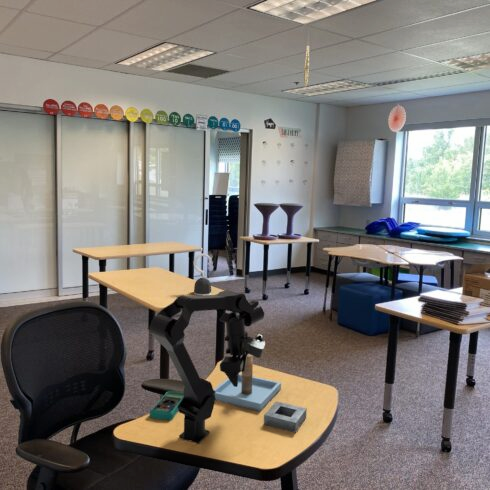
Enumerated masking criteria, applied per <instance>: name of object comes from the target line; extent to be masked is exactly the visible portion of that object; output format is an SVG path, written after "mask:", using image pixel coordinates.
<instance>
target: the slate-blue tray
mask: <svg viewBox="0 0 490 490" xmlns="http://www.w3.org/2000/svg"><path fill="white" fill-rule="evenodd" d="M241 388H242V373H239V378H238V386H237V387H234V386H233V384H232V383H231V381H230V380H229V378H228V377H226V379H225V380H223V382H220V384H218V385H217V386H216V387H215V388H213V390H214V391H215V392H216V393H214V394H215V402H216V401H218V402H222V403H225V404H229V405H234V406H237V407H241V408H246V409H249V410H254V411H258V412H262V410H264V409H265V407H267V405H268V404H269V403H270V402H271V401H272V399H274V398H275V397H276V396H277V395H278V393H279V392H280V391H281V390H282V382H280V381H276V380H275V381H274V380H271V379H267V378H261V377H257V376H253V375H252V394H250V395H244V394H242V393H241Z"/></svg>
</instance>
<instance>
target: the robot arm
mask: <svg viewBox="0 0 490 490" xmlns="http://www.w3.org/2000/svg"><path fill="white" fill-rule="evenodd" d="M216 310H217V311H218V310H219V311H220V310H224V311H228V312H229V313H228V312H224V313H223V314H222V316H221V317H220V318H219V321H220V322H223V323H225V333H226V334H225V337H224V342H226V345H227V347H226V350H225V354H226V355H227V354H229V355H231V356H224V357H223V358H222V360H221V361H220V363H219V371H220V372H222V373H224V374H225V375H226V376H227V377H226V378H229V380H230V381H231V383H232V384H233V386H234V387H237V386H238V378H239V374H241V373H242V372H244V371H245V365H246V359H247V355H248V354H251V355H253V357H255V358H257V359H261V357H262V355H263V352H264V350H265V346H266V341H265V340H264V337H263V335H262V334H260V333H257V335H256V336H255V337H254V336H249V333H248V331H246V327H252V325H255V324H256V323H259V322H261V321H262V320H264V318H265V311H264V309H263V308H262V306H261V305H260V303H259V300H255V299H253V300H251V301H248V300H247V296H246V294H245V293H242V292H238V291H233V290H229V289H226V290H222V291H219V292H218V293H216V294H209V295H184V294H183V295H179V296H177V297H176V298H175V300H173V302H172V303H170V304H168V305H167V306H165V307H163V308H162V309H161V310H160V311H159V312H158V313H157V315H155V316H154V317H153V318H152V320H151V322H150V325H149V326H148V327H149V332H150V334H151V335H152V336H153V338H154V339H155V340H156V342H158V343H159V344H161V346H162V347H164V348H165V350H166V352H167V354H168V355H169V357H170V359H171V361H172V363H173V366H174V368H175V369H176V372H177V373H178V376H179V378H180V380H181V381H182V384H183V391H182V393H183V394H184V397H183V399H182V400H181V402H180V403H179V402H178V403H179V405H178V407H177V408H178V413H180V414H182V415H184V418H183V431H182V432H181V433H180V434H179V436H178V437H179V439H182V440H186V441H190V442H193V443H195V444H196V443H197V444H199V443H201V442H202V441H203V440H204V439H205V438H206V437H207V436H208V435H209V434H210V433H211V432H210V430H207V429H206V421H207V420H208V419H210V418H212V414H213V409H214V406H215V404H216V400H215V394H214V393H216V392H215V391H214V387H213V384H212V382H211V381H208V380H207V379H205V378H202V377H201V376H200V375H199V372H198V371H197V368H196V367H195V365H194V363H193V360H192V358H191V356H190V354H189V352H188V350H187V348H186V345H185V342H184V340H185V335H186V334H185V330H186V329H187V327H188V326H189V324H190V321H191V316H192V315H193V314H194V313H195V312H203V311H204V312H205V311H216ZM179 313H181V314H180V316H179V318H177V319H176V318H174V316H176V315H178V314H179Z"/></svg>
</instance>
